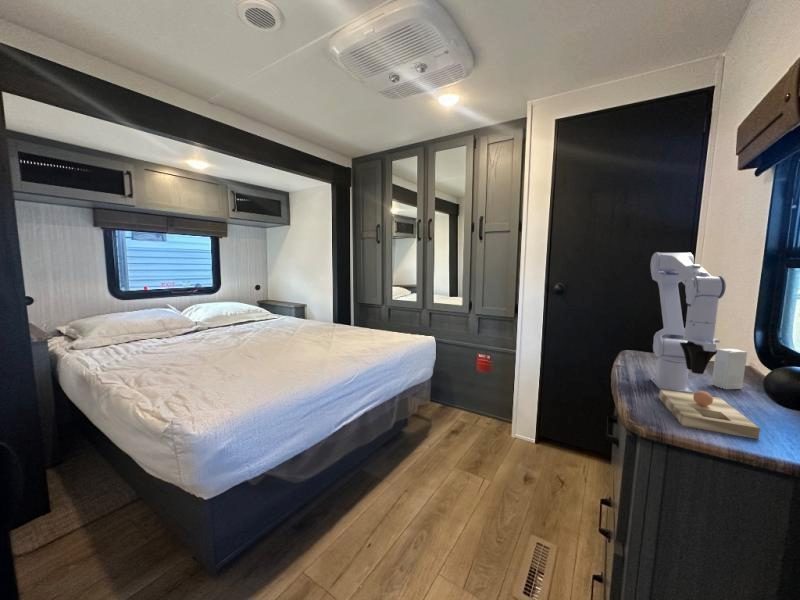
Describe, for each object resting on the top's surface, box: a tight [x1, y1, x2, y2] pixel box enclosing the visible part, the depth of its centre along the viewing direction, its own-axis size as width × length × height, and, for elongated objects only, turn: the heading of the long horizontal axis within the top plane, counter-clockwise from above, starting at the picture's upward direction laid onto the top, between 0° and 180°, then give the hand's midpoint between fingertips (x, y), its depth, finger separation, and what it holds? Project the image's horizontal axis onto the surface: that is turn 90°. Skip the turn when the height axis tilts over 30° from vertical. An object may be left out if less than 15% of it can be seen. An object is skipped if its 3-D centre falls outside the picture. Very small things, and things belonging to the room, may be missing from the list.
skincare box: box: [711, 348, 748, 390], centre depth 99 cm, size 6×4×12 cm
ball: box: [693, 390, 713, 406], centre depth 80 cm, size 4×4×4 cm
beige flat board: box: [658, 388, 761, 440], centre depth 80 cm, size 18×13×2 cm
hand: (694, 371), depth 86 cm, fingers open, 3 cm apart
